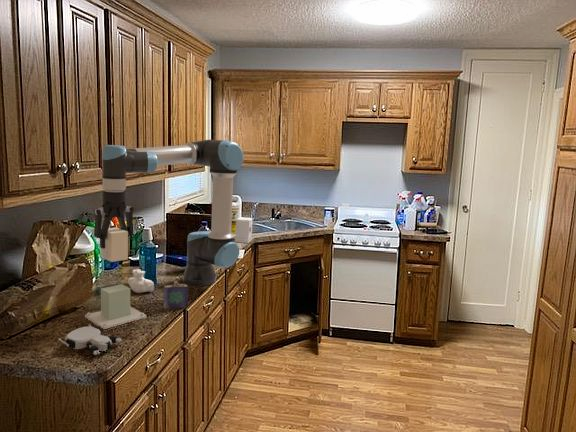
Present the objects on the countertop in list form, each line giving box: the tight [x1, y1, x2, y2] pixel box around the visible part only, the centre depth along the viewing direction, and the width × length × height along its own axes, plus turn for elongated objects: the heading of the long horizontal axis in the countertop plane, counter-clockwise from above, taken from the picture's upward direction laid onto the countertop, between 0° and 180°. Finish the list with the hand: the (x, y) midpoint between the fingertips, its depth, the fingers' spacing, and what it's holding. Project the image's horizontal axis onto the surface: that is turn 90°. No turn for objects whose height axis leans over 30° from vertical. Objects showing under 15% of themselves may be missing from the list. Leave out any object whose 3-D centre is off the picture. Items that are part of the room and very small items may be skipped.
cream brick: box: [100, 227, 129, 263], centre depth 161 cm, size 6×8×10 cm
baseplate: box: [84, 306, 147, 329], centre depth 164 cm, size 16×14×2 cm
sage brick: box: [100, 283, 131, 320], centre depth 163 cm, size 8×6×10 cm
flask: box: [162, 280, 189, 310], centre depth 177 cm, size 9×3×11 cm, turn 109°
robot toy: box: [58, 324, 123, 356], centre depth 142 cm, size 12×4×15 cm
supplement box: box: [234, 216, 254, 244], centre depth 292 cm, size 9×9×15 cm
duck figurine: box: [127, 268, 155, 294], centre depth 191 cm, size 12×8×11 cm
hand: (114, 255), depth 161 cm, fingers closed on cream brick, 6 cm apart
